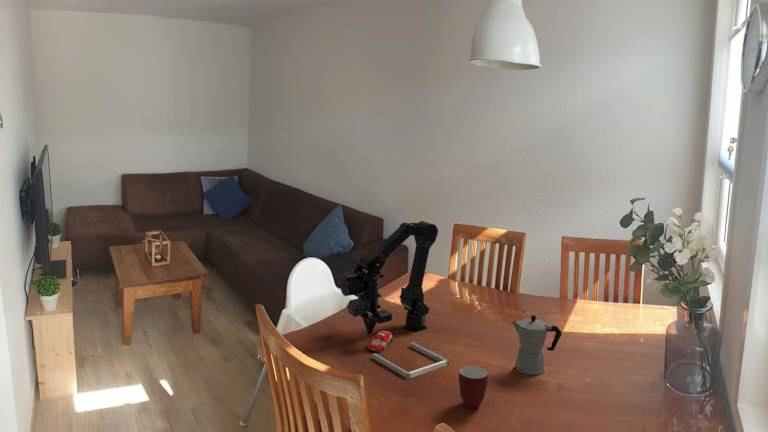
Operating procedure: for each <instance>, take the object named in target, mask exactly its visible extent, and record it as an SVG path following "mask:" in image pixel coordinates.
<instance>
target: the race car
mask: <svg viewBox="0 0 768 432" xmlns="http://www.w3.org/2000/svg"><path fill="white" fill-rule="evenodd" d="M370 339H371V340H370V342H369V343H368V344H367V349H368V350H369V351H371V352H375V353H380V352H381V353H382V352H383V351H384V350H385V348H387V347H388V346H389V345H390V344H391V343H392V341H393V334H392V332H391V331H386V330H383V331H382V330H381V331H378V332H377V333H376V334H375V335H374V336H373V337H371V338H370Z"/></svg>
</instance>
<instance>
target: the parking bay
mask: <svg viewBox="0 0 768 432" xmlns="http://www.w3.org/2000/svg"><path fill="white" fill-rule="evenodd" d="M409 346H410V348H412V349H413V350H415V351H418V352H420V353H422V354H424V355H425V356H428V357H429V358H431V359H433V360H435V361H437V362H434V363H432V364H429V365H426V366H424V367H421V368H417V369H415V370H412V371H408V370H406V369H404V368H402V367H400V366H398V365H396V364H395V363H393V362H391V361H390V360H387V359H385V358H384V357H383V356H381V355H380V354H378V353H377V352H375V353H372V359H373V360H375V361H377V362H378V363H380V364H382V365H384V366H385V367H387V368H389V369H390V370H392V371H394V372H396V373H397V374H399V375H400V376H402V377H404V378H406V379H407V380H409V379H413V378H415V377H418V376H421V375H424V374H427V373H430V372H433V371H435V370H438V369H442V368H445V367H446V366H449V365H450V360H449V359H447V358H445V357H443V356H441V355H440V354H437V353H435V352H434V351H432V350H430V349H427V348H425V347H423V346H422V345H420V344H418V343H416V342H413V341H412V342H411V341H410V345H409Z"/></svg>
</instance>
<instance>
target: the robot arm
mask: <svg viewBox="0 0 768 432" xmlns="http://www.w3.org/2000/svg"><path fill="white" fill-rule="evenodd" d="M438 235H439V228H438V227H437V225H436V224H434V223H430V222H427V221H424V220H420V221H418V222H406V221H405V222H402V223H400V225H399V227H398V228H397V229H396V230H394V231H393V232H392V233H391V234H390V235H389V236H388V237H387V238H386V239H385V240H384V241H382V243H380V245H378V246H377V247H376V248H374V249H370V250H369V251H367V252H366V253H364V254H363V255H361V257H360V258H359V262H358V264H357V265H356V267H355V268H354V270H353V271H352V274H350V275H348V274H346V275H345V274H344V276H343V279H342V280H341V281H340V285H339V286H340V292H341V294H342V295H343V297H348V296H353V295H358V296H357V298H354V299H351V300H349V302H348V303H347V305H346V309H347V312H348V314H349V315H351V316H353V317H354V318H357V317H360V318H361V319H362V321H363V323H364V327H365V330H366V334H368V335H370V334H372V333H373V331H374V329H375V327H376V325H377V324H383V323H387V322H390V321H393V314H392V312H391V311H388V310H386V309H381V307H382V306H381V304H379V298H381V297H382V296H381V293H379V279H382V278H384V277H385V275H384V274H383V273H382V272H381V270H382V269H383V268H384V267H385V265H386V262H387V259H388V258H389V257H390V256H391V255H392V254H393V253H394V252H395V251H396V250H397V249H398V248H399V247H400V246H401V245H402V244H403V243H405V242H406V240H408V239H409V237H410V236H414V237H413V238H414V243H415V250H414V254H413V260H412V264H411V268H410V269H411V270H410V276H409V280H408V284H407V285H406V286H405V287H404V286H403V287H401V288H400V289H401V290H400V295H399V299H400V300H399V302H400V303H401V305H402V307H403V310H404V311H406V316H405V324H403V327H404V328H405V329H407V330H410V331H412V332H413V333H417V332H419V331H423V330H427V329H428V326H427V325H425V324H426V315H428V314H429V312H430V308H429V307H428V306H427V305H426V303H424V301H425V300H424V299H425V293H424V290H423V283H424V277H425V273H426V268H427V262H428V258H429V253H430V249H431V247H432V246H433V244H435V242H436V240H437V237H438ZM364 271H365V272H364Z"/></svg>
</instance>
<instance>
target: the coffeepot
mask: <svg viewBox="0 0 768 432" xmlns="http://www.w3.org/2000/svg"><path fill="white" fill-rule="evenodd" d="M511 325H512V326H514V328H515V330H516V332H517V334H518V339H519V344H520V347H519V348H518V352H517V357H516V361H515V365H514V367H515V369H516V370H517V371H518V372H519V373H521V374H523V375H527V376H538V375H541V374H543V373H544V372H545V371H546V369H545V362H544V351H543V347H544V346H545V342H546V338H547V334H548V332H551V333H552V332H553V333H554V332H555V334H554V338H553V340H552V342H551V346H549V347H547V346H546V349H547V351H552V352H553V351H554V350H555V349H556V347H557V344H558V342H559V341H560V338H561V337H562V335H563V333H562V331H561V329H560V328H559V327H558V326H557V325H552V324H547V323H546V322H544V321H541V320H538V319H537V316H536V315H533V314H531V315H530V318H528V319H522V320H513V321H512V322H511Z"/></svg>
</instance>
